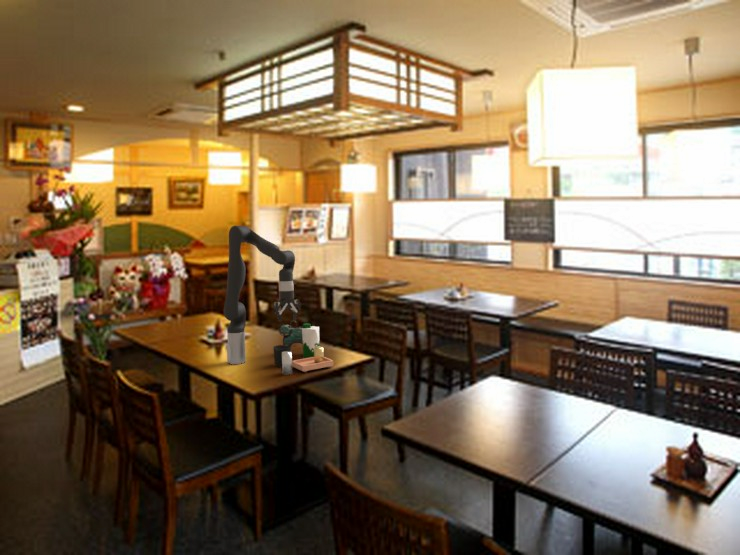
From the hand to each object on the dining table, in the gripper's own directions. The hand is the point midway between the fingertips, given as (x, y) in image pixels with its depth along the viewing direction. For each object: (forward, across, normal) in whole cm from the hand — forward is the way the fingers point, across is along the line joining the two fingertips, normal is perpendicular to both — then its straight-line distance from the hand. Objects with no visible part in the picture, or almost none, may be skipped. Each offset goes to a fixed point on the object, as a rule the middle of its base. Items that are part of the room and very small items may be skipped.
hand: (287, 320), depth 279 cm
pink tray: (+26, -11, +5) cm, 29 cm away
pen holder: (+26, -2, -11) cm, 28 cm away
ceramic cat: (+26, -20, -26) cm, 42 cm away
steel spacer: (+26, +4, +5) cm, 27 cm away
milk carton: (+26, -20, -11) cm, 35 cm away
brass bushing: (+24, -15, +5) cm, 29 cm away
